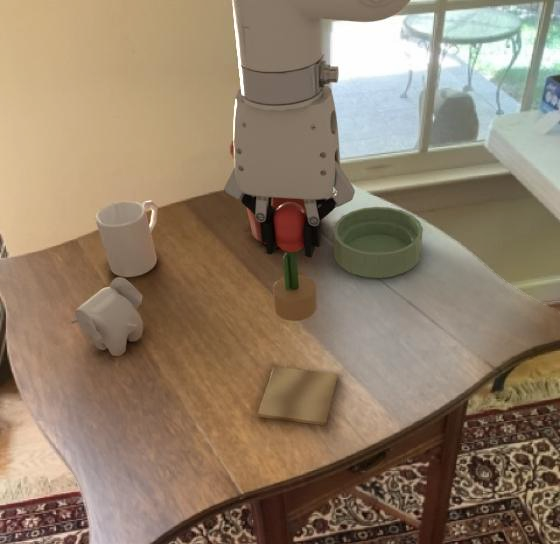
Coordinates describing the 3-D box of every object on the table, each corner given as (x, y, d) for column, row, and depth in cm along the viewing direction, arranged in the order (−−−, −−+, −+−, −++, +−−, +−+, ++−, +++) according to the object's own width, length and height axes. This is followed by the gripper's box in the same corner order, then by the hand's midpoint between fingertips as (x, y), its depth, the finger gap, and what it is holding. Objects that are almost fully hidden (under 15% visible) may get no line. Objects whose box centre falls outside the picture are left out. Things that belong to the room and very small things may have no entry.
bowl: (423, 235, 113) (425, 209, 110) (416, 284, 103) (418, 257, 100) (341, 229, 116) (341, 204, 113) (327, 277, 106) (326, 251, 103)
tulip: (320, 296, 80) (317, 193, 70) (312, 323, 76) (307, 218, 67) (280, 293, 81) (272, 191, 71) (270, 318, 77) (260, 215, 68)
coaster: (337, 376, 90) (337, 373, 89) (326, 425, 83) (325, 422, 83) (274, 369, 92) (273, 366, 91) (257, 416, 85) (257, 413, 85)
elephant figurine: (106, 310, 104) (91, 263, 98) (164, 332, 99) (152, 285, 93) (62, 345, 98) (43, 298, 92) (122, 371, 93) (106, 323, 87)
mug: (181, 247, 116) (171, 196, 109) (134, 282, 109) (120, 231, 102) (148, 235, 119) (136, 185, 112) (100, 269, 112) (84, 218, 106)
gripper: (377, 65, 61) (371, 236, 73) (208, 62, 64) (230, 225, 77) (366, 98, 56) (361, 275, 68) (182, 92, 59) (210, 262, 72)
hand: (291, 247), depth 73 cm, fingers closed on tulip, 3 cm apart
